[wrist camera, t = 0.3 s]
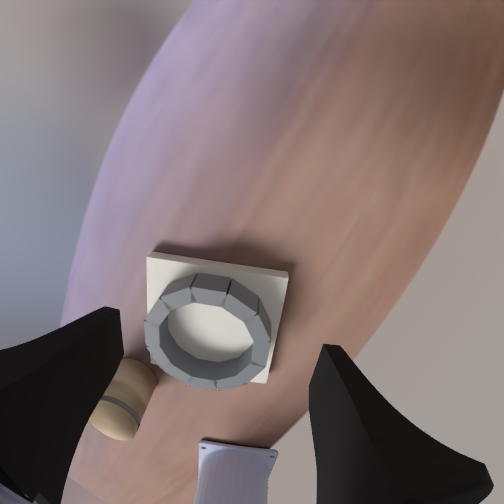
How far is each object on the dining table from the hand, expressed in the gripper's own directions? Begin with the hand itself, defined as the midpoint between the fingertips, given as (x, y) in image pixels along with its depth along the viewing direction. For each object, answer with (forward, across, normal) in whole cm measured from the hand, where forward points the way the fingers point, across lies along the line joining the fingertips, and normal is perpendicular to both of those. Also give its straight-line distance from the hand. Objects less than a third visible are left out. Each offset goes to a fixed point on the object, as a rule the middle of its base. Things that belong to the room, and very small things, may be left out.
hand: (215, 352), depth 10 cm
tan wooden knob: (+10, +8, +13) cm, 18 cm away
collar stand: (+10, +1, +5) cm, 11 cm away
